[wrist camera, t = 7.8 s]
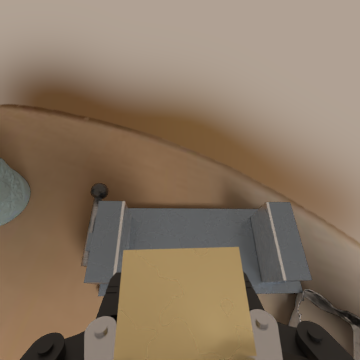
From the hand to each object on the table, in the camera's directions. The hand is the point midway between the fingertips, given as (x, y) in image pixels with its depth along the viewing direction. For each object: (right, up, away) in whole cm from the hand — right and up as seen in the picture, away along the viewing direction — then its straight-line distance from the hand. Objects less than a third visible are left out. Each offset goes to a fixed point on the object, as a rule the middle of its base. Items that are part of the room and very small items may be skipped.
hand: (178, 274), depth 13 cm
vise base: (+2, -3, +17) cm, 17 cm away
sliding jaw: (+12, -3, +15) cm, 20 cm away
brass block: (0, -4, +3) cm, 5 cm away
